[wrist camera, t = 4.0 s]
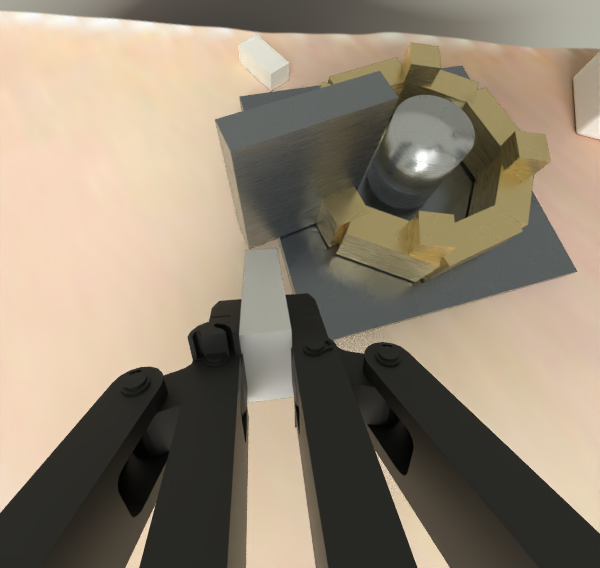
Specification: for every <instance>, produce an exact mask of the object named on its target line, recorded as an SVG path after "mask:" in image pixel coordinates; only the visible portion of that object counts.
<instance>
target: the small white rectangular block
mask: <svg viewBox="0 0 600 568" xmlns="http://www.w3.org/2000/svg"><path fill="white" fill-rule="evenodd" d="M238 49H239V58H240V63H241V64H242V65H243V66H244V67H245V68H246V69H247V70H248V71H249V72H251V73H252V74H253V75H254V76H255V77H256V78H257V79H258V80H259V81H261V82H262V83H263V84H264V85H265V86H266V87H267V88H268V89H269V90H271V91H272V90H274V89H275V88H277V87H278V86H280V85H282V84H283V83H285V82H286V81H288V80H289V62H288V61H287V60H286V59H284V58H283V57H282V56H281V55H280V54H279V53H278V52H276V51H275V50H274V49H273V48H272V47H271V46H269V45H268V44H267V43H266V42H265V41H264V40H263V39H261V38H260V37H259V36H258V35H255V36H253V37H251V38H249V39H248V40H246V41H244V42H242V43H241V44H239V45H238Z"/></svg>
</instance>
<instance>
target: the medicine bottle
mask: <svg viewBox="0 0 600 568" xmlns="http://www.w3.org/2000/svg"><path fill="white" fill-rule="evenodd" d="M573 87H574V102H575V117H576V132H577V134H579V135H583V136H587V137H591V138H595V139H598V140H600V51H599V52H598V53H597V54H596V55H595V56H594V57H593V58H592V59H591V60H590V61H589V62H588V63H587V64H586V65H585V66H584V67H583V68H582V69H581V70H580V71H579V72H578V73H577V74H576V75H575V76H574V78H573Z"/></svg>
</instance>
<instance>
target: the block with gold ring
mask: <svg viewBox="0 0 600 568" xmlns="http://www.w3.org/2000/svg"><path fill="white" fill-rule="evenodd" d="M440 69H441V64H440V53H439V46H432V45H425V44H418V43H411V42H410V45H409V47H408V50H407V52H406V55H405V57H404V59H403V62H402V64H401V62H400V61H399V60H398V58H397V57H396V58H393V59H389V60H386V61H383V62H379V63H376V64H372V65H369V66H365V67H362V68H358V69H355V70H352V71H348V72H345V73H341V74H338V75H334V76H331V77H329V80H328V83H325V82H323V83H322V85H321V88H320V89H316V90H313V91H309V92H306V93H303V94H299V95H296V96H293V97H289V98H286V99H283V100H279V101H276V102H272V103H269V104H266V105H262V106H259V107H256V108H252V109H249V110H245V111H242V112H239V113H235V114H232V115H229V116H225V117H222V118H219V119H215V123H216V127H217V131H218V136H219V140H220V144H221V149H222V153H223V158H224V162H225V166H226V171H227V175H228V179H229V184H230V188H231V192H232V197H233V201H234V206H235V210H236V214H237V219H238V223H239V227H240V230H241V233H242V235H243V237H244V239H245V241H246V243H247V246H248V248H249V249H252V248H254V247H257V246H259V245H262V244H264V243H267V242H269V241H272V240H274V239H277V238H279V237H282V236H284V235H287V234H289V233H292V232H295V231H297V230H300V229H302V228H305V227H307V226H310V225H312V224H315V223H316V225H317V227H318V228H319V230H320V232H321V234H322V236H323V238H324V240H325V241H326V243H327V245H328V247H332V246H334V245H336V244H339V243H340V244H339V247H338V250H337V253H336V254H338V255H341V256H343V257H346V258H349V259H352V260H355V261H357V262H360V263H363V264H366V265H369V266H371V267H374V268H377V269H380V270H383V271H385V272H388V273H391V274H394V275H397V276H399V277H402V278H405V279H408V280H411V281H413V282H417V281H418V280H420V279H421V278H423V280H424V282H425V281H428V280H430V279H432V278H434V277H436V276H438V275H440V274H442V273H444V272H446V271H448V270H451V269H453V268H455V267H457V266H459V265H461V264H463V263H465V262H467V261H469V260H471V259H474V258H476V257H478V256H480V255H482V254H484V253H486V252H488V251H490V250H492V249H494V248H495V247H497V246H499V245H500V244H502V243H504V242H505V241H507V240H509V239H511V238H512V237H514V236H516V235H517V234H519V233H521V232H523V230H522V229H521V228H523V227H525V226H526V225H528V220H529V212H530V203H531V195H532V187H533V178H534V174H535V173H536V172H538V171H539V170H540V169H542V168H543V167H544V166H545V165H547V164H548V163H549V162H551V159H550V154H549V149H548V145H547V140H546V135H543V134H535V133H527V132H521V131H520V130H519V128H518V127H517V126H516V125H515V123H514V122H513V121H512V120H511V118H510V117H509V116H508V114H507V113H506V112H505V111H504V109H503V108H502V107H501V106H500V104H499V103H498V102H497V101H496V99H495V98H494V97H493V96H492V94H491V93H490V92H489V91H488V89H487V88H483V89H481V90H478V91H477V88H478V84H479V82H476V81H473V80H470V79H467V78H464V77H461V76H458V75H455V74H452V73H449V72H446V71H443V70H440ZM418 95H433V96H438V97H441V98H444V99H446V100H449V101H450V102H452V103H454V104H455V105H457V106H458V107H459V108H461V109H462V110H463V111H464V112H465V113H466V115H467V116H468V117H469V119H470V121H471V122H472V125H473V128H474V132H475V140H474V144H473V147H472V149H471V150H470V152H469V153H468V154H467V155H466V156H465V157H464V159H463V160H462V161H463V162H464V164H465V165H466V166H467V168H468V169H469V171H470V172H471V173H472V175H473V176H474V178H475V183H474V188H473V194H472V199H471V204H470V209H469V214H468V217H467V218H465V219H462V220H460V221H458V222H456V223H455V222H454V215H453V214H444V213H435V212H426V211H418V212H417V213H416V214H415V215H414V217H413V218H412V219H411V220H410V221H408V220H405V219H402V218H399V217H397V216H394V215H391V214H388V213H385V212H382V211H379V210H377V209H374V208H371V207H368V206H366V205H365V204H364V202H363V200H362V198H361V197H360V195H359V193H358V192H357V190H358V188H359V185H360V183H361V181H362V179H363V176H364V174H365V172H366V170H367V167H368V165H369V163H370V161H371V158H372V156H373V154H374V152H375V149H376V147H377V145H378V143H379V140H380V138H381V136H382V134H383V132H384V129H385V127H386V125H387V123H388V120H389V118H390V116H392V117H393V115H394V113H395V111H396V109H397V107H398V106H399V105H400V104H401V103H402V102H403V101H405V100H406V99H408V98H411V97H413V96H418Z"/></svg>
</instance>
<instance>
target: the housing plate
mask: <svg viewBox="0 0 600 568" xmlns="http://www.w3.org/2000/svg"><path fill="white" fill-rule="evenodd" d="M440 70H443V71H446V72H449V73H452V74H455V75H458V76H461V77H464V78H467V79H469V77H468V75H467V73H466V71H465V70H464V68H463V66H457V67H450V68H442V69H440ZM320 88H321V85H320V86H313V87H306V88H299V89H291V90H284V91H277V92H270V93H263V94H255V95H248V96H241V97H240V104H241V110H242V111H245V110H249V109H252V108H256V107H259V106H262V105H266V104H269V103H272V102H276V101H279V100H283V99H286V98H289V97H293V96H296V95H299V94H303V93H306V92H309V91H313V90H316V89H320ZM474 140H475V132H474V128H473V125H472V122H471V121H470V119H469V117H468V116H467V115H466V113H465V112H464V111H463V110H462V109H461V108H459V107H458V106H457V105H455V104H454V103H452V102H450V101H449V100H446V99H444V98H441V97H438V96H433V95H418V96H413V97H411V98H408V99H406V100H405V101H403V102H402V103H401V104H400V105H399V106H398V107H397V109H396V111H395V113H394V115H393V117H392V116H390V118H389V120H388V123H387V125H386V127H385V129H384V132H383V134H382V136H381V138H380V140H379V143H378V145H377V147H376V149H375V152H374V154H373V156H372V158H371V161H370V163H369V165H368V167H367V170H366V172H365V174H364V176H363V179H362V181H361V183H360V185H359V188H358V190H357V192H358V193H359V195H360V197H361V198H362V200H363V202H364V204H365V205H366V206H368V207H371V208H374V209H377V210H379V211H382V212H385V213H388V214H391V215H394V216H397V217H399V218H402V219H405V220H408V221H410V220H411V219H412V218H413V217H414V215H415V214H416V213H417V212H418V211H426V212H435V213H444V214H453V215H454V222H455V223H456V222H458V221H460V220H462V219H465V218H467V217H468V214H469V209H470V204H471V199H472V194H473V188H474V183H475V178H474V176H473V175H472V173H471V172H470V171H469V169H468V168H467V166H466V165H465V164H464V162H463V161H462V160H463V159H464V157H465V156H466V155H467V154H468V153H469V152H470V150H471V149H472V147H473V144H474ZM521 229H522V230H523V232H521V233H519V234H517V235H516V236H514V237H512V238H511V239H509V240H507V241H505V242H504V243H502V244H500V245H499V246H497V247H495V248H494V249H492V250H490V251H488V252H486V253H484V254H482V255H480V256H478V257H476V258H474V259H471V260H469V261H467V262H465V263H463V264H461V265H459V266H457V267H455V268H453V269H451V270H448V271H446V272H444V273H442V274H440V275H438V276H436V277H434V278H432V279H430V280H428V281H425V282H424V280H423V278H421V279H420V280H418V281H417V282H413V281H411V280H408V279H405V278H402V277H399V276H397V275H394V274H391V273H388V272H385V271H383V270H380V269H377V268H374V267H371V266H369V265H366V264H363V263H360V262H357V261H355V260H352V259H349V258H346V257H343V256H341V255H338V254H336V253H337V250H338V247H339V244H340V243H339V244H336V245H334V246H332V247H328V245H327V243H326V241H325V240H324V238H323V236H322V234H321V232H320V230H319V228H318V227H317V225H316V223H315V224H312V225H310V226H307V227H305V228H302V229H300V230H297V231H295V232H292V233H289V234H287V235H284V236H282V237H279V238H278V241H279V244H280V248H281V251H282V255H283V259H284V262H285V266H286V269H287V273H288V276H289V280H290V283H291V287H292V290H293V294H304V293H308V294H309V295H311V296H312V297H313V298H314V299H315V300H316V303H317V306H318V309H319V312H320V315H321V318H322V320H323V323H324V326H325V329H326V332H327V335H328V338H330V339H331V340H333V341H334V340H338V339H342V338H345V337H349V336H352V335H356V334H359V333H363V332H367V331H370V330H374V329H377V328H381V327H384V326H388V325H392V324H395V323H399V322H402V321H406V320H409V319H413V318H417V317H420V316H424V315H427V314H431V313H434V312H438V311H442V310H445V309H449V308H452V307H456V306H459V305H463V304H466V303H470V302H474V301H477V300H481V299H484V298H488V297H491V296H495V295H499V294H502V293H506V292H509V291H513V290H516V289H520V288H524V287H527V286H531V285H534V284H538V283H541V282H545V281H549V280H552V279H556V278H559V277H563V276H566V275H569V274H572V273H575V272H577V270H576V268H575V267H574V265H573V263H572V261H571V260H570V258H569V256H568V254H567V252H566V251H565V249H564V247H563V245H562V243H561V242H560V240H559V238H558V236H557V234H556V233H555V231H554V229H553V227H552V225H551V224H550V222H549V220H548V218H547V216H546V215H545V213H544V211H543V209H542V208H541V206H540V204H539V202H538V200H537V199H536V197H535V195H534V193H533V191H532V195H531V203H530V212H529V220H528V225H526V226H525V227H523V228H521Z"/></svg>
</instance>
